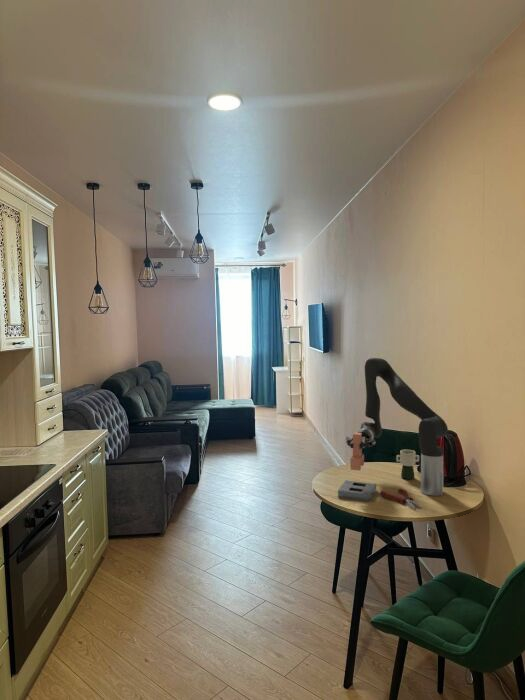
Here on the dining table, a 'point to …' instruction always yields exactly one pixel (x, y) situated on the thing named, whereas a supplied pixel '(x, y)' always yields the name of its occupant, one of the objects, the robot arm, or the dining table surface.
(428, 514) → the dining table surface
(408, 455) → the character mug
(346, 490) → the grey socket board
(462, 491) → the dining table surface
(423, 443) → the robot arm
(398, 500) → the pliers
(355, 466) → the pink tall block
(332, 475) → the dining table surface
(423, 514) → the dining table surface
